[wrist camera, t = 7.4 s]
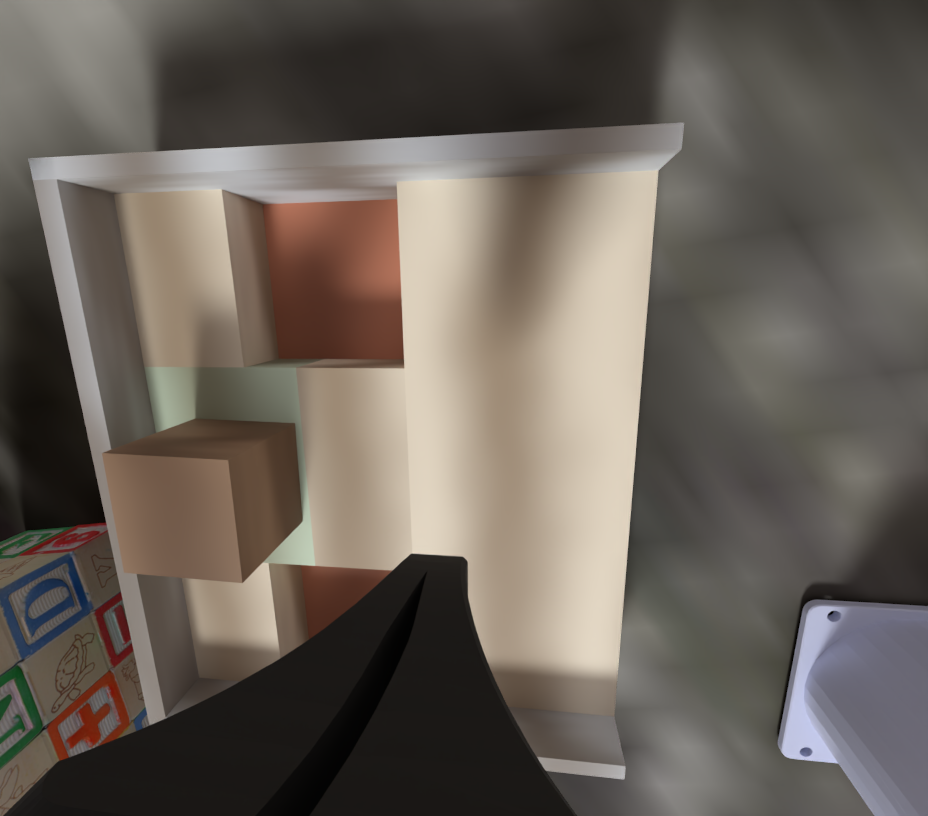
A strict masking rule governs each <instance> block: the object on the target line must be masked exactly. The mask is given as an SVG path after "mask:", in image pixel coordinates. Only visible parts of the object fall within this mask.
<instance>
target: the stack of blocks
mask: <svg viewBox="0 0 928 816" xmlns="http://www.w3.org/2000/svg"><path fill="white" fill-rule="evenodd" d="M147 726H149V720H148V716H147V711H146V706H145V701H144V697H143V692H142V687H141V683H140V678H139V673H138V669H137V664H136V659H135V655H134V650H133V645H132V641H131V636H130V631H129V627H128V622H127V617H126V613H125V608H124V603H123V599H122V594H121V589H120V585H119V580H118V575H117V571H116V566H115V561H114V556H113V552H112V547H111V542H110V538H109V533H108V528H107V524H106V523H96V524H86V525H77V526H75V527H64V528H52V529H41V530H28V531H25V532H23V533H20V534H18V535H16V536H13V537H11V538H9V539H7V540H5V541H2V542H0V816H3V815H4V814H5V813H6V812H7V811H8V810H9V809H10V808H11V807H12V806H13V805H14V804H15V803H16V802H17V801H18V800H19V799H20V798H21V797H22V796H23V795H24V794H25V793H26V792H27V791H28V790H29V789H30V788H31V787H32V786H33V785H34V784H35V783H36V782H37V781H38V780H39V779H40V778H41V777H42V776H43V775H44V774H45V773H46V772H47V771H48V770H49V769H51V768H52V767H53V766H54V765H55V764H56V763H57V762H58V761H60V760H63V759H66V758H69V757H71V756H74V755H77V754H79V753H82V752H85V751H87V750H90V749H92V748H95V747H97V746H100V745H102V744H105V743H107V742H110V741H112V740H115V739H117V738H120V737H122V736H125V735H127V734H130V733H133V732H135V731H138V730H140V729H142V728H145V727H147Z"/></svg>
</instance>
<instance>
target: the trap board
mask: <svg viewBox="0 0 928 816" xmlns="http://www.w3.org/2000/svg"><path fill="white" fill-rule="evenodd" d="M683 129H684V123H667V124H649V125H630V126H612V127H594V128H576V129H557V130H539V131H521V132H503V133H485V134H466V135H448V136H430V137H412V138H393V139H375V140H357V141H339V142H320V143H302V144H284V145H266V146H247V147H229V148H211V149H193V150H174V151H156V152H138V153H120V154H101V155H83V156H65V157H47V158H28V159H29V164H30V168H31V173H32V178H33V182H34V187H35V192H36V196H37V201H38V206H39V210H40V215H41V220H42V224H43V229H44V234H45V238H46V243H47V248H48V252H49V257H50V262H51V266H52V271H53V276H54V281H55V285H56V290H57V295H58V299H59V304H60V309H61V313H62V318H63V323H64V327H65V332H66V337H67V341H68V346H69V351H70V355H71V360H72V365H73V369H74V374H75V379H76V383H77V388H78V393H79V397H80V402H81V407H82V411H83V416H84V421H85V426H86V430H87V435H88V440H89V444H90V449H91V454H92V458H93V463H94V468H95V472H96V477H97V482H98V486H99V491H100V496H101V500H102V505H103V510H104V514H105V519H106V524H107V528H108V533H109V538H110V542H111V547H112V552H113V556H114V561H115V566H116V571H117V575H118V580H119V585H120V589H121V594H122V599H123V603H124V608H125V613H126V617H127V622H128V627H129V631H130V636H131V641H132V645H133V650H134V655H135V659H136V664H137V669H138V673H139V678H140V683H141V687H142V692H143V697H144V701H145V706H146V711H147V716H148V720H149V725H152V724H154V723H156V722H159V721H161V720H163V719H165V718H168V717H170V716H172V715H174V714H176V713H178V712H181V711H183V710H185V709H187V708H189V707H191V706H194V705H196V704H198V703H200V702H202V701H204V700H206V699H208V698H210V697H212V696H214V695H216V694H218V693H220V692H222V691H224V690H226V689H227V688H229V687H231V686H233V685H235V684H236V683H238V682H240V681H242V680H243V679H245V678H247V677H249V676H250V675H252V674H254V673H256V672H258V671H259V670H261V669H263V668H265V667H266V666H268V665H270V664H272V663H274V662H275V661H277V660H278V659H280V658H282V657H283V656H285V655H286V654H288V653H289V652H291V651H292V650H294V649H295V648H297V647H298V646H300V645H302V644H303V643H305V642H306V641H307V640H309V639H310V638H312V637H313V636H315V635H316V634H317V633H319V632H320V631H322V630H323V629H324V628H326V627H327V626H328V625H329V624H331V623H332V622H333V621H334V620H336V619H337V618H338V617H339V616H341V615H342V614H343V613H345V612H346V611H347V610H348V609H350V608H351V607H352V606H353V605H355V604H356V603H357V602H358V601H359V600H360V599H361V598H363V597H364V596H365V595H366V594H367V593H368V592H369V591H371V590H372V589H373V588H374V587H375V586H376V585H377V584H378V583H379V582H381V581H382V580H383V579H384V578H385V577H386V576H387V575H388V574H389V573H390V572H391V571H392V570H393V569H395V568H396V567H397V566H398V565H399V564H400V563H401V562H402V561H403V560H404V559H406V558H407V557H408V556H409V555H410V554H429V555H446V556H463V557H464V558H465V559H466V560H467V561H468V599H469V603H470V608H471V612H472V616H473V620H474V624H475V627H476V631H477V634H478V637H479V640H480V643H481V646H482V648H483V651H484V654H485V657H486V659H487V662H488V664H489V667H490V669H491V671H492V674H493V676H494V678H495V681H496V683H497V685H498V687H499V689H500V691H501V693H502V696H503V698H504V700H505V702H506V704H507V706H508V708H509V709H510V711H511V713H512V715H513V717H514V718H515V720H516V722H517V724H518V726H519V727H520V729H521V731H522V733H523V734H524V736H525V738H526V740H527V742H528V743H529V745H530V747H531V749H532V750H533V752H534V753H535V755H536V756H537V758H538V760H539V761H540V763H541V764H542V766H543V767H544V769H545V771H553V772H562V773H571V774H580V775H589V776H598V777H607V778H617V779H624V777H625V762H624V758H623V753H622V749H621V744H620V740H619V735H618V731H617V727H616V722H615V718H614V713H615V701H616V688H617V676H618V664H619V651H620V639H621V626H622V614H623V602H624V589H625V577H626V565H627V552H628V540H629V528H630V515H631V503H632V491H633V478H634V466H635V454H636V441H637V429H638V417H639V404H640V392H641V380H642V367H643V355H644V343H645V330H646V318H647V306H648V293H649V281H650V269H651V256H652V244H653V231H654V219H655V207H656V194H657V182H658V170H659V169H660V168H662V167H663V166H664V165H665V164H666V163H667V162H668V161H669V160H670V159H671V158H672V157H673V156H674V155H676V154H677V153H678V152H679V151H680V150H681V149H682V140H683ZM193 419H216V420H238V421H260V422H281V423H295V430H296V442H297V455H298V468H299V480H300V493H301V506H302V519H303V522H302V523H301V524H300V525H299V526H298V527H297V528H296V529H295V530H294V531H293V532H292V533H291V534H290V535H289V536H288V537H287V538H286V539H285V540H284V541H283V542H282V543H281V544H280V545H279V546H278V547H277V548H276V549H275V550H274V551H273V552H272V553H271V555H270V556H269V557H268V558H267V559H266V560H265V561H264V562H263V563H262V564H261V565H260V566H259V567H258V568H257V569H256V570H255V571H254V572H253V573H252V574H251V575H250V576H249V577H248V578H247V579H246V580H245V581H244V582H243V583H234V582H222V581H211V580H200V579H188V578H177V577H166V576H155V575H143V574H132V573H124V570H123V565H122V559H121V554H120V548H119V543H118V538H117V532H116V527H115V522H114V516H113V511H112V505H111V500H110V495H109V489H108V484H107V479H106V473H105V468H104V462H103V457H102V453H103V452H106V451H109V450H111V449H114V448H117V447H119V446H122V445H125V444H128V443H130V442H133V441H136V440H138V439H141V438H144V437H147V436H149V435H152V434H155V433H157V432H160V431H163V430H166V429H168V428H171V427H174V426H176V425H179V424H182V423H185V422H187V421H190V420H193Z"/></svg>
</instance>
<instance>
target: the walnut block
mask: <svg viewBox="0 0 928 816" xmlns="http://www.w3.org/2000/svg"><path fill="white" fill-rule="evenodd" d="M102 457H103V462H104V468H105V473H106V479H107V484H108V489H109V495H110V500H111V505H112V511H113V516H114V522H115V527H116V532H117V538H118V543H119V548H120V554H121V559H122V565H123V570H124V573H132V574H143V575H155V576H166V577H177V578H188V579H200V580H211V581H222V582H234V583H243V582H244V581H245V580H246V579H247V578H248V577H249V576H250V575H251V574H252V573H253V572H254V571H255V570H256V569H257V568H258V567H259V566H260V565H261V564H262V563H263V562H264V561H265V560H266V559H267V558H268V557H269V556H270V555H271V553H272V552H273V551H274V550H275V549H276V548H277V547H278V546H279V545H280V544H281V543H282V542H283V541H284V540H285V539H286V538H287V537H288V536H289V535H290V534H291V533H292V532H293V531H294V530H295V529H296V528H297V527H298V526H299V525H300V524H301V523H302V522H303V519H302V506H301V493H300V480H299V468H298V455H297V442H296V430H295V423H281V422H260V421H238V420H216V419H193V420H190V421H187V422H185V423H182V424H179V425H176V426H174V427H171V428H168V429H166V430H163V431H160V432H157V433H155V434H152V435H149V436H147V437H144V438H141V439H138V440H136V441H133V442H130V443H128V444H125V445H122V446H119V447H117V448H114V449H111V450H109V451H106V452H103V453H102Z"/></svg>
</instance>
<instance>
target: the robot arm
mask: <svg viewBox="0 0 928 816" xmlns="http://www.w3.org/2000/svg"><path fill="white" fill-rule="evenodd" d="M831 611H834V613H833V614H831V615H828V613H830V612H831ZM778 746H779V748H780V750H781V752H782V753H783V755H784V756H786V757H788V758H791V759H800V760H810V761H820V762H830V763H839V765H840V766H841V768H842V769H843V771H844V772H845V774H846V775H847V777H848V778H849V779H850V781H851V782H852V784H853V785H854V787H855V788H856V790H857V791H858V793H859V794H860V795H861V797H862V798H863V800H864V801H865V803H866V804H867V806H868V807H869V809H870V810H871V811H872V813H873V814H874V816H928V606H917V605H900V604H884V603H868V602H851V601H835V600H819V599H817V600H811V601H809V602H807V603H806V604H805V605H804V607H803V610H802V616H801V621H800V626H799V632H798V637H797V642H796V648H795V653H794V658H793V664H792V669H791V674H790V680H789V685H788V690H787V696H786V701H785V706H784V712H783V717H782V722H781V728H780V733H779V738H778ZM3 816H577V815H576V814H575V812H574V811H573V810H572V808H571V807H570V806H569V804H568V803H567V801H566V800H565V799H564V797H563V796H562V794H561V793H560V791H559V790H558V788H557V787H556V786H555V784H554V783H553V781H552V780H551V778H550V777H549V775H548V774H547V772H546V771H545V769H544V767H543V766H542V764H541V763H540V761H539V760H538V758H537V756H536V755H535V753H534V752H533V750H532V749H531V747H530V745H529V743H528V742H527V740H526V738H525V736H524V734H523V733H522V731H521V729H520V727H519V726H518V724H517V722H516V720H515V718H514V717H513V715H512V713H511V711H510V709H509V708H508V706H507V704H506V702H505V700H504V698H503V696H502V693H501V691H500V689H499V687H498V685H497V683H496V681H495V678H494V676H493V674H492V671H491V669H490V667H489V664H488V662H487V659H486V657H485V654H484V651H483V648H482V646H481V643H480V640H479V637H478V634H477V631H476V627H475V624H474V620H473V616H472V612H471V608H470V603H469V599H468V561H467V560H466V559H465V558H464V557H463V556H446V555H429V554H410V555H409V556H408V557H407V558H406V559H404V560H403V561H402V562H401V563H400V564H399V565H398V566H397V567H396V568H395V569H393V570H392V571H391V572H390V573H389V574H388V575H387V576H386V577H385V578H384V579H383V580H382V581H381V582H379V583H378V584H377V585H376V586H375V587H374V588H373V589H372V590H371V591H369V592H368V593H367V594H366V595H365V596H364V597H363V598H361V599H360V600H359V601H358V602H357V603H356V604H355V605H353V606H352V607H351V608H350V609H348V610H347V611H346V612H345V613H343V614H342V615H341V616H339V617H338V618H337V619H336V620H334V621H333V622H332V623H331V624H329V625H328V626H327V627H326V628H324V629H323V630H322V631H320V632H319V633H317V634H316V635H315V636H313V637H312V638H310V639H309V640H307V641H306V642H305V643H303V644H302V645H300V646H298V647H297V648H295V649H294V650H292V651H291V652H289V653H288V654H286V655H285V656H283V657H282V658H280V659H278V660H277V661H275V662H274V663H272V664H270V665H268V666H266V667H265V668H263V669H261V670H259V671H258V672H256V673H254V674H252V675H250V676H249V677H247V678H245V679H243V680H242V681H240V682H238V683H236V684H235V685H233V686H231V687H229V688H227V689H226V690H224V691H222V692H220V693H218V694H216V695H214V696H212V697H210V698H208V699H206V700H204V701H202V702H200V703H198V704H196V705H194V706H191V707H189V708H187V709H185V710H183V711H181V712H178V713H176V714H174V715H172V716H170V717H168V718H165V719H163V720H161V721H159V722H156V723H154V724H152V725H149V726H147V727H145V728H142V729H140V730H138V731H135V732H133V733H130V734H127V735H125V736H122V737H120V738H117V739H115V740H112V741H110V742H107V743H105V744H102V745H100V746H97V747H95V748H92V749H90V750H87V751H85V752H82V753H79V754H77V755H74V756H71V757H69V758H66V759H63V760H60V761H58V762H57V763H56V764H55V765H54V766H53V767H52V768H51V769H49V770H48V771H47V772H46V773H45V774H44V775H43V776H42V777H41V778H40V779H39V780H38V781H37V782H36V783H35V784H34V785H33V786H32V787H31V788H30V789H29V790H28V791H27V792H26V793H25V794H24V795H23V796H22V797H21V798H20V799H19V800H18V801H17V802H16V803H15V804H14V805H13V806H12V807H11V808H10V809H9V810H8V811H7V812H6V813H5V814H4V815H3Z"/></svg>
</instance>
